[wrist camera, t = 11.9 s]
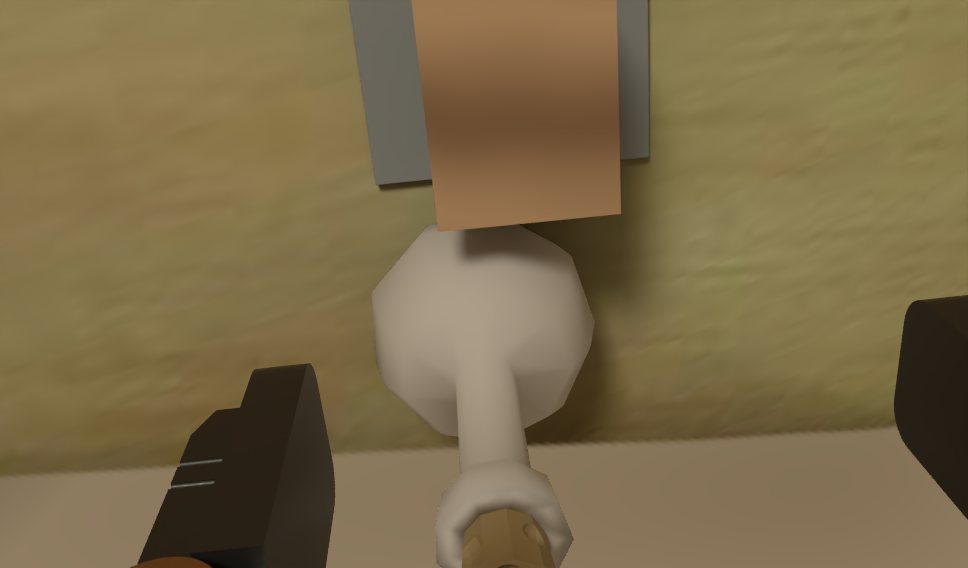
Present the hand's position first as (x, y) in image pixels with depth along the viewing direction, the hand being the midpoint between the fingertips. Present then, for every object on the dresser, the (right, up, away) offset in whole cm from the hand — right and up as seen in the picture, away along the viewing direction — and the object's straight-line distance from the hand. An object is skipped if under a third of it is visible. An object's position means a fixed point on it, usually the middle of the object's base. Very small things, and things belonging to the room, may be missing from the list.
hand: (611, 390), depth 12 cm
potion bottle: (-2, +1, +26) cm, 26 cm away
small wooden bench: (-1, +10, +22) cm, 24 cm away
